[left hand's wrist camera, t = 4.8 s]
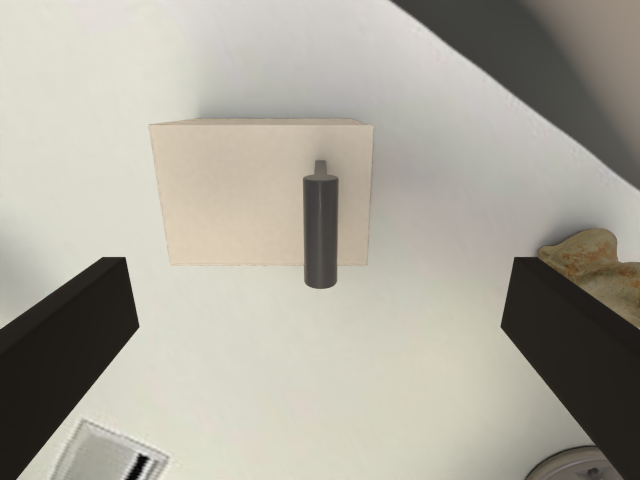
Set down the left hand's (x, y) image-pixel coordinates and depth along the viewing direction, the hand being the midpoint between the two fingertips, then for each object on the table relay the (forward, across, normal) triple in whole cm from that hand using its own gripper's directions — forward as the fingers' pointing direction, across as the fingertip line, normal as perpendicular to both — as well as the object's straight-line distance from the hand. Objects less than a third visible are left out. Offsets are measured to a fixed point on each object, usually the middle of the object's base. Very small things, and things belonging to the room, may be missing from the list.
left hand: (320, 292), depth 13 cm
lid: (+14, +4, 0) cm, 15 cm away
